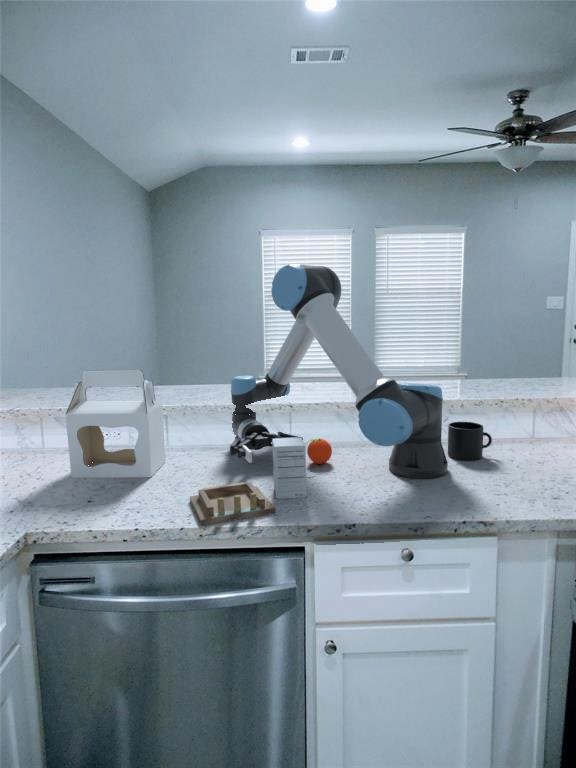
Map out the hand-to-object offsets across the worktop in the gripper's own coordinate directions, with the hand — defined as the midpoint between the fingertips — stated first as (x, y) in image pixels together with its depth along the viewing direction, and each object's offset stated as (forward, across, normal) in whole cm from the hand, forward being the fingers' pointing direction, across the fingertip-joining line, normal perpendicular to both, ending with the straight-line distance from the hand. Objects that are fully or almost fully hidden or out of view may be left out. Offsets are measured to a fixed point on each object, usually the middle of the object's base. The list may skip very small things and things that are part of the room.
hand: (276, 454), depth 128 cm
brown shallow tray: (+12, +15, -7) cm, 20 cm away
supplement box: (+9, 0, -7) cm, 11 cm away
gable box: (-26, +37, -7) cm, 46 cm away
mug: (+2, -57, -7) cm, 58 cm away
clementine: (-9, -15, -7) cm, 19 cm away
